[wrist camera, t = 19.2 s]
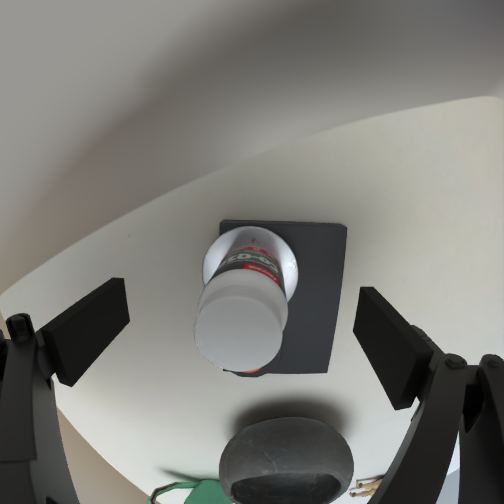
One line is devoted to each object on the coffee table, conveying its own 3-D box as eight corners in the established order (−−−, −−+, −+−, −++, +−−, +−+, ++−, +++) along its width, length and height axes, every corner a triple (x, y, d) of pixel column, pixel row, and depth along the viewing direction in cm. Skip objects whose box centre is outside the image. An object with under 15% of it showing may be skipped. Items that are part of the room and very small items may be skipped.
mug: (250, 481, 32) (246, 529, 23) (231, 499, 35) (226, 539, 25) (162, 456, 32) (145, 504, 22) (156, 477, 34) (141, 516, 24)
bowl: (235, 463, 31) (228, 517, 21) (216, 397, 28) (199, 467, 18) (337, 455, 30) (347, 509, 20) (348, 386, 26) (370, 454, 17)
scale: (324, 362, 26) (329, 383, 22) (223, 359, 26) (217, 381, 23) (341, 223, 22) (353, 230, 19) (220, 219, 23) (212, 225, 20)
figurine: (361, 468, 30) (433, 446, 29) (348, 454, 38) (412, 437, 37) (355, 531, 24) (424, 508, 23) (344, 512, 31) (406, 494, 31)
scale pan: (185, 258, 20) (183, 260, 20) (264, 207, 19) (264, 207, 19) (237, 330, 21) (236, 333, 21) (314, 287, 20) (315, 289, 20)
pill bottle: (283, 244, 19) (294, 286, 11) (282, 306, 20) (290, 377, 12) (215, 245, 19) (180, 286, 11) (219, 306, 20) (192, 374, 12)
